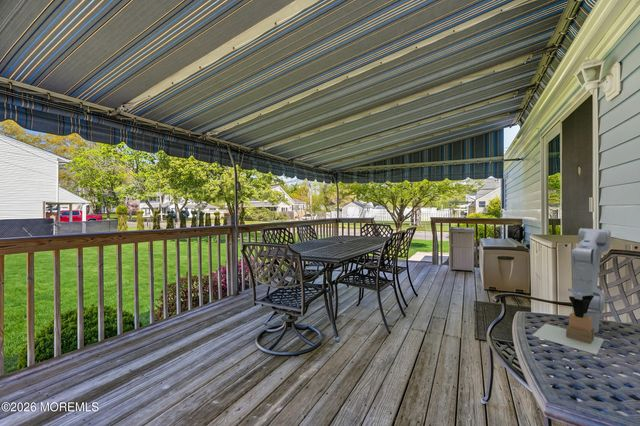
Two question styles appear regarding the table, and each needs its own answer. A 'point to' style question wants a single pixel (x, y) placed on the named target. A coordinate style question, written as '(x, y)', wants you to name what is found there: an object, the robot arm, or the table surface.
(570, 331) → the walnut block
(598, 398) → the table surface
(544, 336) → the baseplate
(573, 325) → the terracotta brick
